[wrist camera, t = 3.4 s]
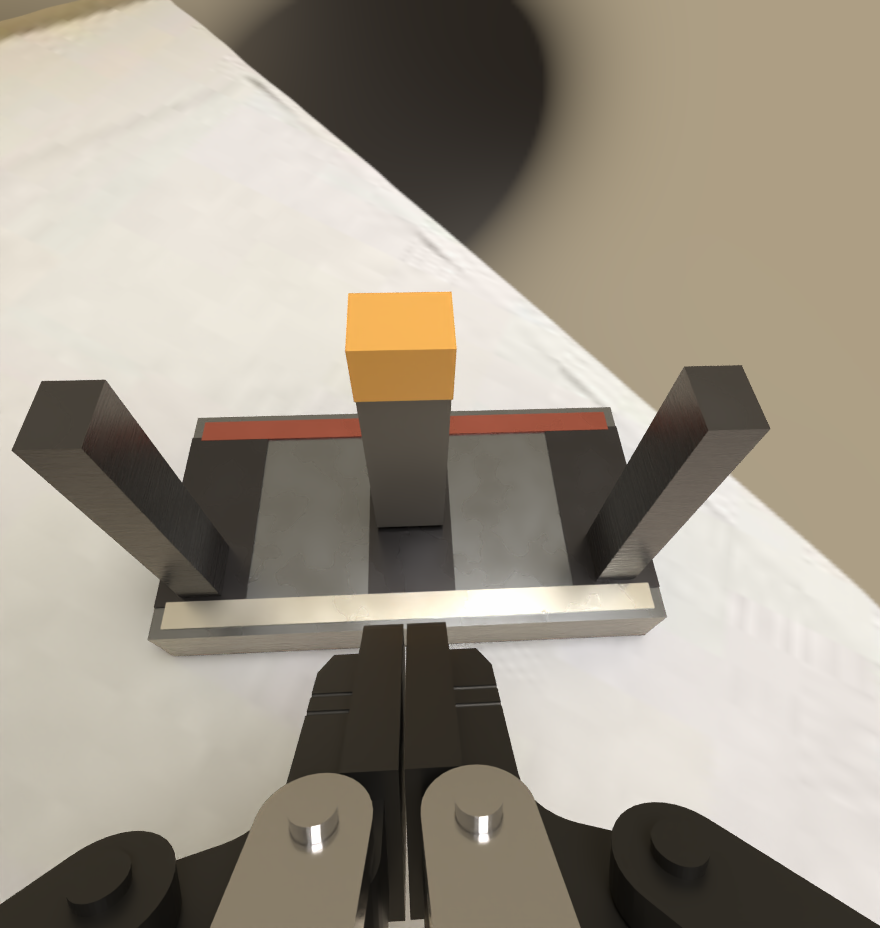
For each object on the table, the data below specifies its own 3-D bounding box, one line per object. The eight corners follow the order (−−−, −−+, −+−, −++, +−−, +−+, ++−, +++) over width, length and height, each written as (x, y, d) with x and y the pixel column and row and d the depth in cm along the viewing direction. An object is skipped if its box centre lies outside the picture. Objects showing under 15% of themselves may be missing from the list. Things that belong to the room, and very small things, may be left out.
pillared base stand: (644, 634, 28) (835, 482, 15) (174, 656, 26) (-61, 512, 14) (596, 437, 34) (700, 211, 21) (215, 448, 33) (82, 217, 20)
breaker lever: (444, 525, 27) (456, 348, 16) (376, 528, 27) (345, 351, 16) (441, 481, 28) (451, 291, 18) (376, 483, 28) (348, 293, 18)
